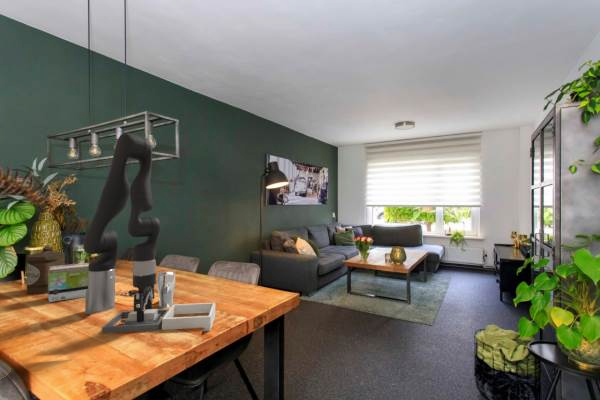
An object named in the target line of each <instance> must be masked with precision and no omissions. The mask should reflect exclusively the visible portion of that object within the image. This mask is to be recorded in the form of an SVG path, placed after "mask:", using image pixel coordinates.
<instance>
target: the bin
mask: <svg viewBox="0 0 600 400" xmlns="http://www.w3.org/2000/svg"><path fill="white" fill-rule="evenodd" d="M169 309H170V310H169V311H168V312H167V314H166V315H165V316H164V317H163V319H162V326H161V330H162V331H163V330H164V331H165V330H184V329H185V330H186V329H200V328H201V329H202V332H211V330H212V327H213V324H214V321H215V318H216V302H204V303H203V302H201V303H182V304H181V303H179V304H178V303H177V304H176V303H175V304H173V305H172V306H170V307H169ZM194 314H208V315H200V316H182V317H179V316H178V317H175V315H176V316H177V315H194Z"/></svg>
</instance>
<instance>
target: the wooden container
mask: <svg viewBox="0 0 600 400" xmlns="http://www.w3.org/2000/svg"><path fill="white" fill-rule="evenodd" d="M26 262H27V264H26V293H27V294H29V295H44V294H48V276H49V267H50V266H60V265H66V253H65V252H64V251H52V247H50V246H49V245H48V246H44V247H42V251H41V252H40V253H32V254H28V255H27V257H26Z"/></svg>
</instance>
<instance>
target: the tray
mask: <svg viewBox="0 0 600 400" xmlns="http://www.w3.org/2000/svg"><path fill="white" fill-rule="evenodd" d="M169 310H170V308H165V309H164V308H162V309H161V308H160V309H158V314H161V317H160V320H159V321H158V322H157V324H139V325H125V324H123V325H121V324H120V325H116V324H117V323H118V322H119V321H121V320H122V319H123V318H128V314H129V313H130V312H131V311H132V310H123V311H120V312H119V313H117V314H116V315H115V316H114V317H113V318H111V319H110V320H109V321H108V322H107V323H105V324H104V325H103V326H102V327H101V334H114V333H115V334H116V333H131V332H133V333H134V332H146V331H148V332H149V331H159V329H160V328H162V319H163V317H164V316H165V315H166V314H167V312H168V311H169ZM144 311H145V309H144Z"/></svg>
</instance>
